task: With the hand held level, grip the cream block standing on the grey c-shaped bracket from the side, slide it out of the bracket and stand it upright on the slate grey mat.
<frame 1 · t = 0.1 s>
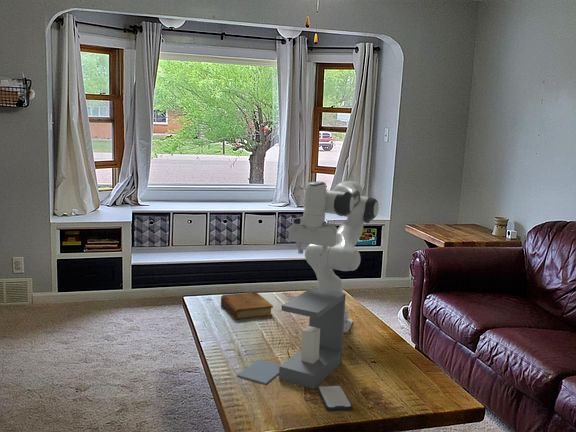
hand: (310, 255, 229), 39 cm above the table, tool pointing down, fingers open, 8 cm apart
diary: (246, 311, 276), on the table
mat: (262, 372, 209), on the table
grey c-shaped bracket: (311, 370, 212), on the table
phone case: (334, 400, 191), on the table
block: (309, 359, 209), point 5 cm above the table, touching grey c-shaped bracket
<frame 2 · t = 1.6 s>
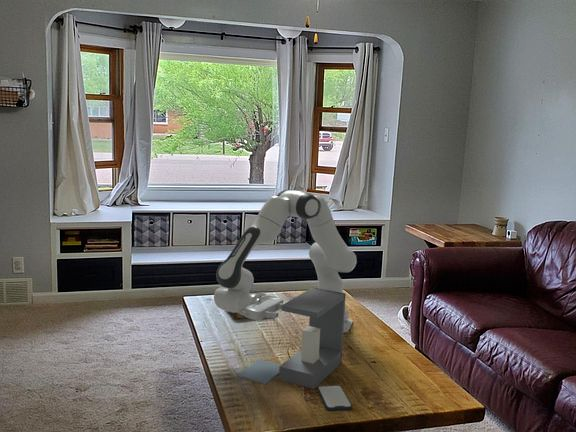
hand: (283, 312, 212), 21 cm above the table, tool horizontal, fingers open, 8 cm apart
nothing on the table moved.
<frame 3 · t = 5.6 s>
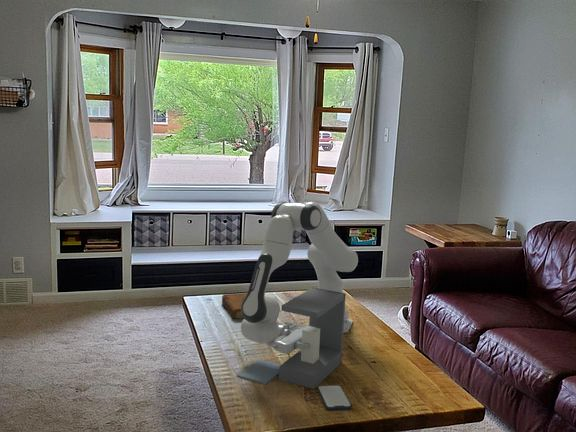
hand: (312, 343, 208), 12 cm above the table, tool horizontal, fingers closed on block, 5 cm apart
block: (309, 359, 209), point 5 cm above the table, touching gripper, grey c-shaped bracket
everything else where it was.
when the fingers open (8 cm above the table, at t = 12.2 s): block stays where it is, resting on mat.
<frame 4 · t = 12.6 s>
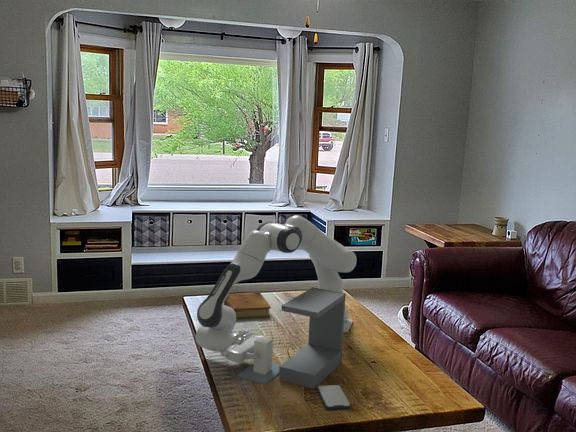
hand: (265, 352, 207), 8 cm above the table, tool horizontal, fingers open, 8 cm apart
block: (262, 370, 209), point 1 cm above the table, touching mat
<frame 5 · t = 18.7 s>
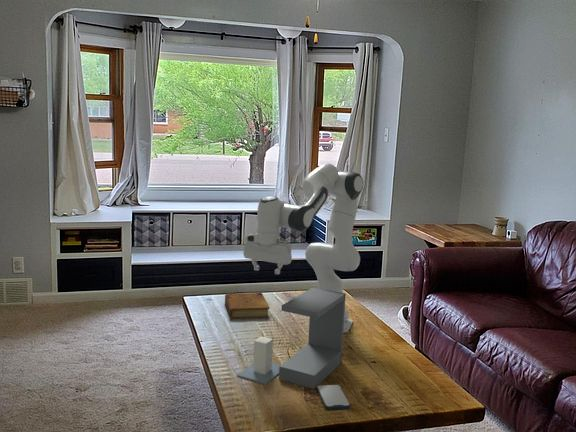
hand: (266, 272, 222), 33 cm above the table, tool pointing down, fingers open, 8 cm apart
at the end: block inside the target area on the mat (0.0 cm from its centre), point 0.6 cm above the mat's base; block tilted 0°; the gripper is holding nothing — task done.
